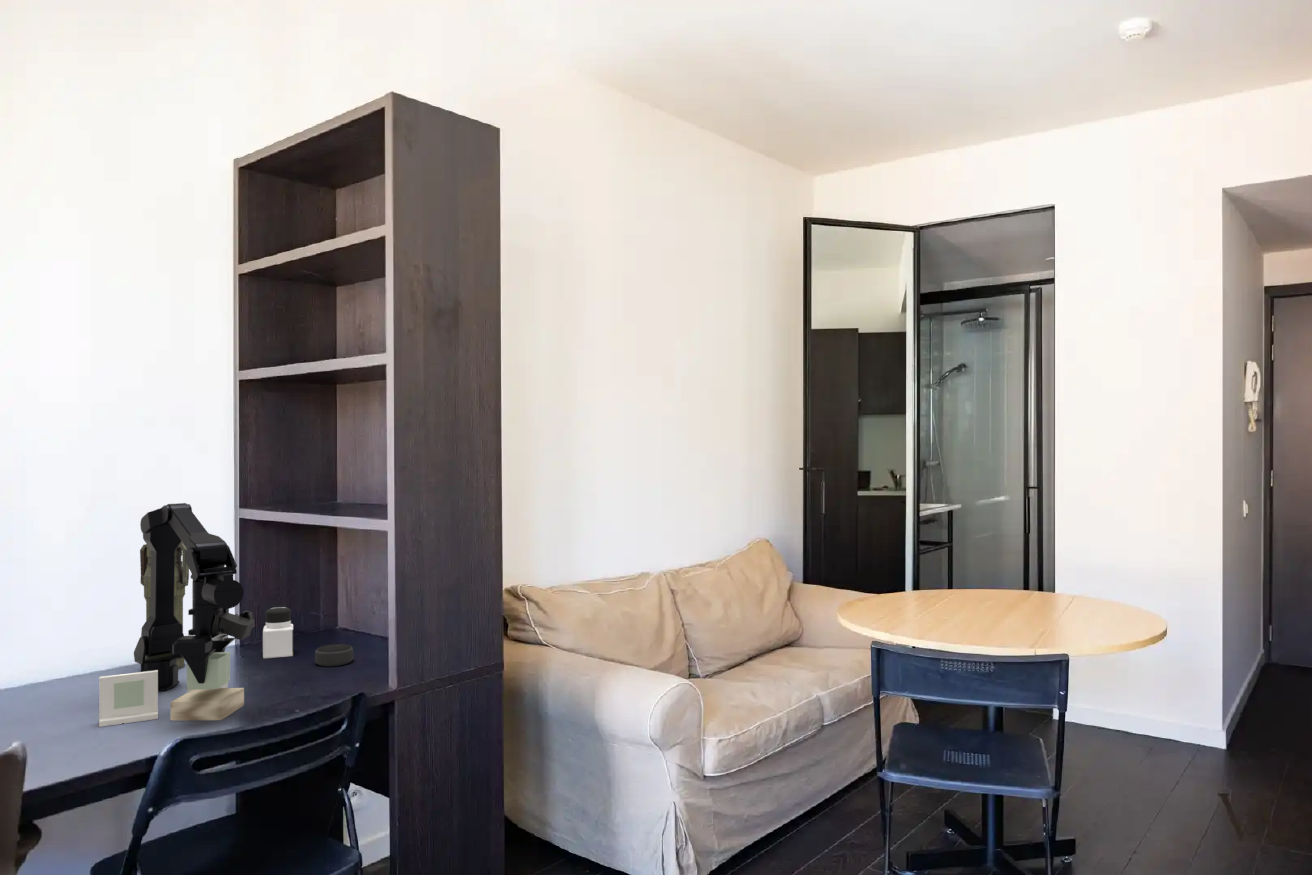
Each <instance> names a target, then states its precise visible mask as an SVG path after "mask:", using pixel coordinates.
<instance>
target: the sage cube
mask: <svg viewBox="0 0 1312 875" xmlns="http://www.w3.org/2000/svg"><path fill="white" fill-rule="evenodd" d="M230 681H231V652H230V651H229V652H228V651H225V652H213V653H212V654H211V655H210V656H209V658H208V665H207V672H206V678H205V683H202V684H199V683H198V682H197V680H196V678H195V676H194V674H193V672H192V671H191V669H190V667H189V665H188V664H187V663H186V690H187V691H188V690H197V689H219V688H220V687H222V686H223V685H225V684H226V683H228V684H229V682H230Z"/></svg>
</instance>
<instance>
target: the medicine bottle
mask: <svg viewBox="0 0 1312 875" xmlns="http://www.w3.org/2000/svg"><path fill="white" fill-rule="evenodd" d="M291 613H292V609H290V608H288V607H286V606H285V607H284V606H283V607H282V606H281V607H280V606H278V607H272V608H269V609H267V610H266V611H265V625H264V626H263V629H262V658H263V659H273V658H274V659H275V658H286V657H293V656H294V624H293V623H292V614H291Z"/></svg>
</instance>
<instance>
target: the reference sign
mask: <svg viewBox="0 0 1312 875" xmlns="http://www.w3.org/2000/svg"><path fill="white" fill-rule="evenodd" d="M98 681H99V684H98V686H99V689H98V692H99V693H98V694H99V695H98V697H99V700H98V701H99V702H98V706H99V707H98V708H99V710H98V714H99V716H98V727H99V728H101V727H108V726H109V727H110V726H115V725H116V726H117V725H123V724H122V723H124V724H130V723H131V724H132V723H138V722H144V721H146V722H147V721H151V720H158V719H159V690H158V670H155V671H146V672H141V671H139V672H131V673H123V674H113V675H102V676H99V678H98Z"/></svg>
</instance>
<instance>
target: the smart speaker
mask: <svg viewBox="0 0 1312 875" xmlns="http://www.w3.org/2000/svg"><path fill="white" fill-rule="evenodd" d="M314 651H315V653H314V660H315V664H316V665H318V666H321V667H340V666H344V665H347V664H350V663H351V662H352V661H353V660H354V649H353V647H352V645H350V644H347V643H346V644H345V643H334V644H325V645H321V646H320V647H317V648H316V649H315V650H314Z"/></svg>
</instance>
